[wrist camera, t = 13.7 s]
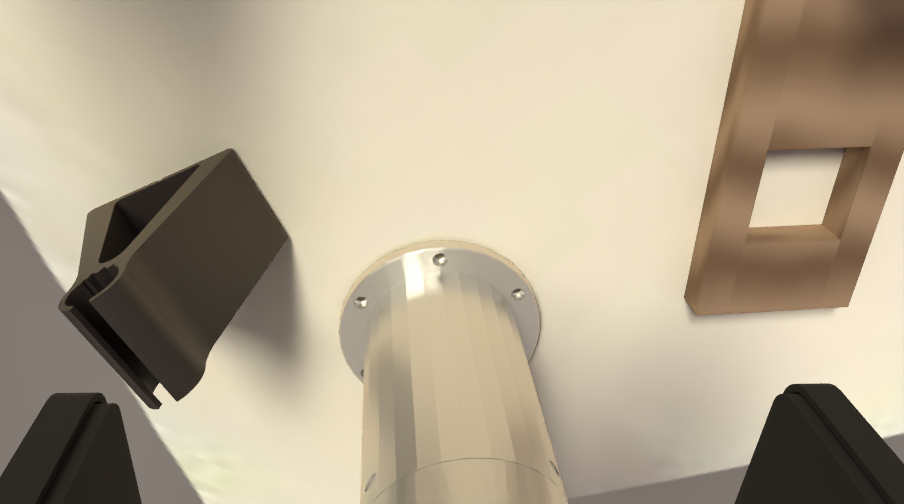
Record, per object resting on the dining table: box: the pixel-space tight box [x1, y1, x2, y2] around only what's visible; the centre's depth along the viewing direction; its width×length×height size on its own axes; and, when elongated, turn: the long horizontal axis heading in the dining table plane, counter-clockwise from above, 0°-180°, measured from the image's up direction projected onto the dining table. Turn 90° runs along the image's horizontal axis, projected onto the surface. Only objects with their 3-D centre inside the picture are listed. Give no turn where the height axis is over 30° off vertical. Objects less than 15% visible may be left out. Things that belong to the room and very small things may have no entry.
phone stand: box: [58, 148, 288, 409], centre depth 34 cm, size 9×6×12 cm, turn 112°
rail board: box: [684, 0, 904, 315], centre depth 36 cm, size 32×10×2 cm, turn 0°
